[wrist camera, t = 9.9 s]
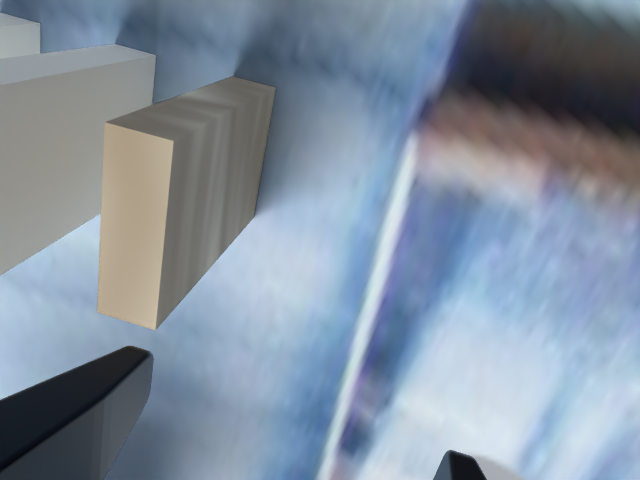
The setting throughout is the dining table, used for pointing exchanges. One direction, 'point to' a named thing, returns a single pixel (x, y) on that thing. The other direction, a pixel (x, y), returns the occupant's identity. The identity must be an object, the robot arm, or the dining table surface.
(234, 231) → the domino
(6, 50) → the domino
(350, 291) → the dining table surface
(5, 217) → the domino
